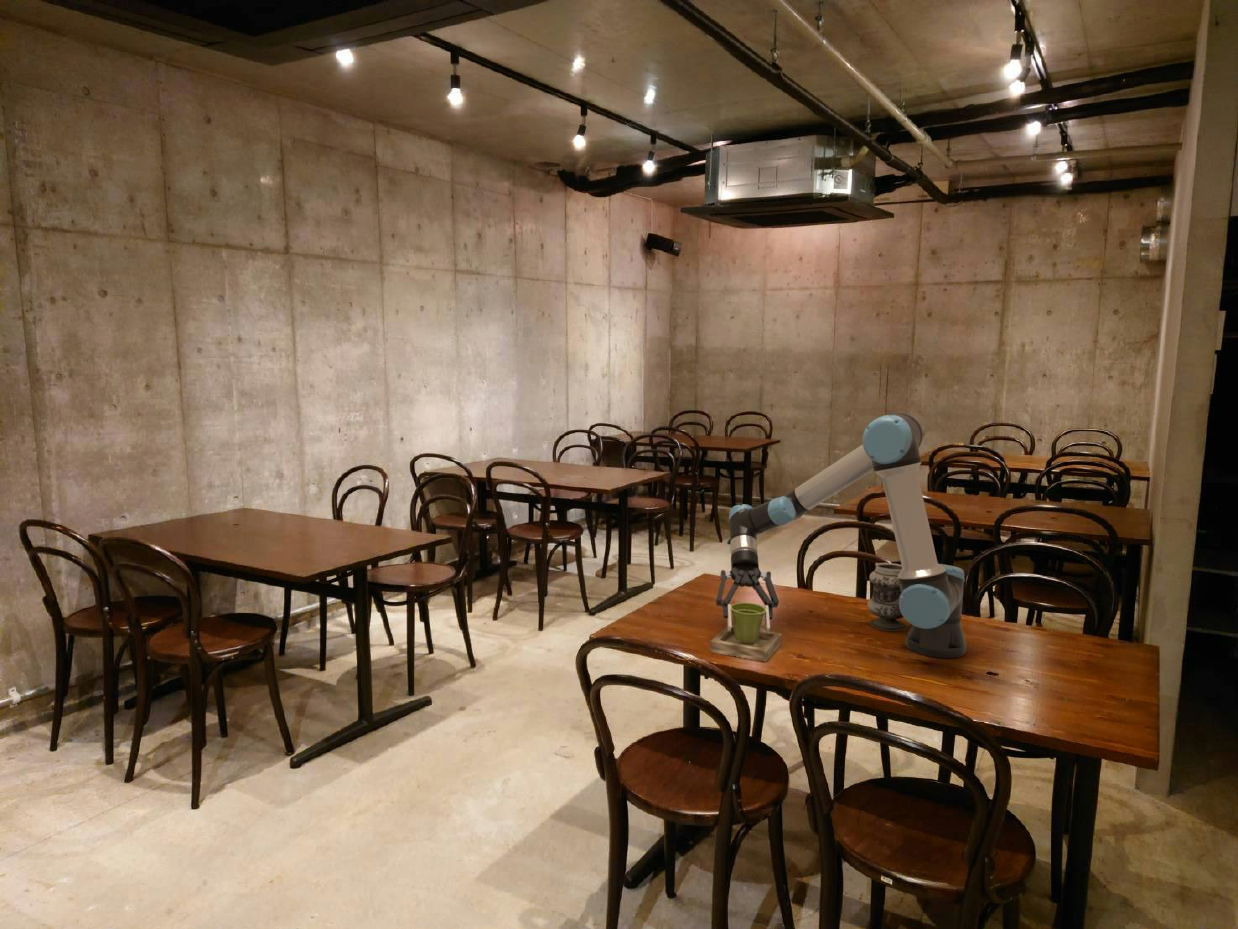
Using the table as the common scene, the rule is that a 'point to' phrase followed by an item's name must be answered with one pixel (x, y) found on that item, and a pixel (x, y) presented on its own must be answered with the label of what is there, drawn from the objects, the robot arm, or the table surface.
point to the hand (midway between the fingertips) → (748, 629)
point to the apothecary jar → (886, 597)
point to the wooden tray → (746, 645)
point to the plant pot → (747, 621)
